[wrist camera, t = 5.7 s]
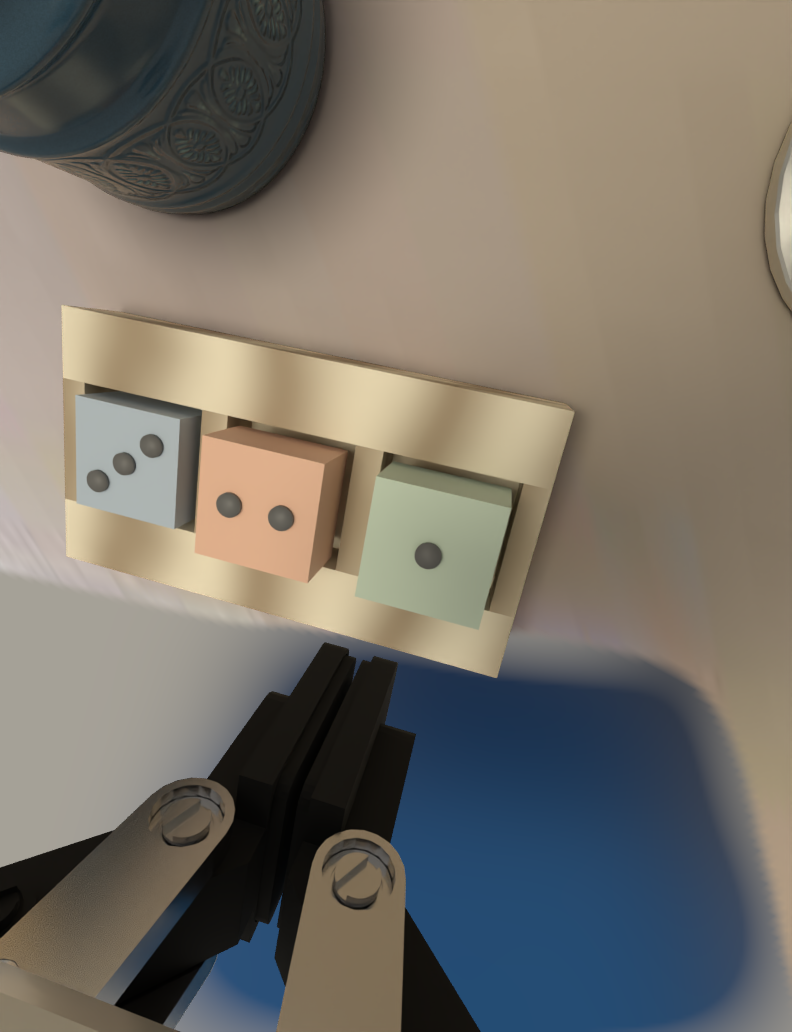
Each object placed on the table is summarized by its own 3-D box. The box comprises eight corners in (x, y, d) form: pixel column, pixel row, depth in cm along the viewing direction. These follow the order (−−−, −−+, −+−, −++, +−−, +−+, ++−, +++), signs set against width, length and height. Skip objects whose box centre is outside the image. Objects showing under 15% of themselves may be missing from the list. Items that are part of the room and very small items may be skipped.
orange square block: (348, 450, 22) (322, 464, 19) (331, 557, 24) (305, 585, 21) (239, 425, 23) (199, 435, 20) (230, 530, 25) (191, 554, 22)
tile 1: (511, 488, 21) (511, 509, 18) (482, 596, 23) (478, 632, 20) (393, 460, 22) (374, 477, 19) (373, 568, 24) (353, 598, 21)
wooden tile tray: (565, 403, 23) (574, 411, 20) (498, 637, 27) (496, 678, 24) (119, 311, 26) (61, 305, 23) (116, 533, 30) (66, 556, 27)
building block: (217, 412, 25) (177, 419, 22) (210, 511, 27) (171, 530, 24) (123, 390, 26) (71, 395, 23) (121, 488, 27) (73, 504, 24)
